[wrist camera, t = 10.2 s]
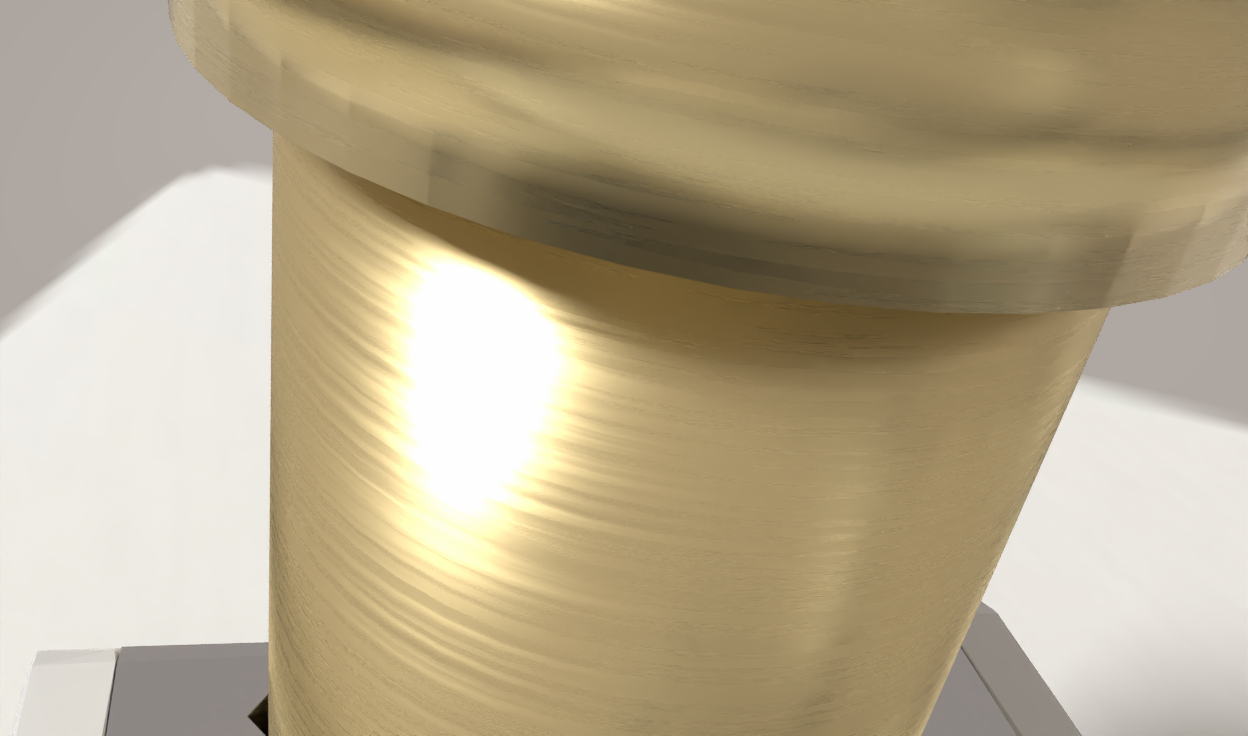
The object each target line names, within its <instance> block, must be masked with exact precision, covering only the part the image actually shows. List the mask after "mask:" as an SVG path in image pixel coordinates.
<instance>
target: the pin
mask: <svg viewBox="0 0 1248 736" xmlns="http://www.w3.org/2000/svg"><path fill="white" fill-rule="evenodd" d="M168 9H169V16H170V20H171V23H172V28H173V31H174V36H175V39H176V41H177V42H178V44H179V45H180V47H181V48H182V50H183V51H184V53H185V54H186V56H187V57H188V59H189V60H190V62H191V63H192V65H193V66H194V68H195V69H196V70H197V71H198V72H199V73H200V74H202V76H203V77H204V78H206V79H207V80H208V81H209V82H210V83H211V84H212V85H213V86H214V87H215V88H216V89H217V90H218V91H219V92H220V93H222V94H223V95H224V96H225V97H226V98H227V99H228V100H229V101H230V102H232V103H233V104H234V105H236V106H238V107H239V108H240V109H242V110H243V111H245V112H246V113H248V114H249V115H251V116H252V117H254V118H255V119H256V120H258V121H259V122H261V123H262V124H264V125H265V126H267V127H268V128H270V129H271V130H273V203H272V318H271V433H270V549H269V664H268V736H921V735H922V733H923V731H924V728H925V726H926V724H927V721H928V719H929V717H930V715H931V712H932V710H933V708H934V706H935V703H936V701H937V699H938V697H939V694H940V692H941V690H942V688H943V685H944V683H945V681H946V679H947V676H948V674H949V672H950V670H951V667H952V665H953V663H954V661H955V658H956V656H957V654H958V651H959V649H960V647H961V645H962V642H963V640H964V638H965V636H966V633H967V631H968V629H969V627H970V624H971V622H972V620H973V618H974V615H975V613H976V611H977V609H978V606H979V604H980V602H981V600H982V597H983V595H984V593H985V590H986V588H987V586H988V584H989V581H990V579H991V577H992V575H993V572H994V570H995V568H996V566H997V563H998V561H999V559H1000V557H1001V554H1002V552H1003V550H1004V548H1005V545H1006V543H1007V541H1008V539H1009V536H1010V534H1011V532H1012V529H1013V527H1014V525H1015V523H1016V520H1017V518H1018V516H1019V514H1020V511H1021V509H1022V507H1023V505H1024V502H1025V500H1026V498H1027V496H1028V493H1029V491H1030V489H1031V487H1032V484H1033V482H1034V480H1035V478H1036V475H1037V473H1038V471H1039V469H1040V466H1041V464H1042V462H1043V459H1044V457H1045V455H1046V453H1047V450H1048V448H1049V446H1050V444H1051V441H1052V439H1053V437H1054V435H1055V432H1056V430H1057V428H1058V426H1059V423H1060V421H1061V419H1062V417H1063V414H1064V412H1065V410H1066V408H1067V405H1068V403H1069V401H1070V398H1071V396H1072V394H1073V392H1074V389H1075V387H1076V385H1077V383H1078V380H1079V378H1080V376H1081V374H1082V371H1083V369H1084V367H1085V364H1086V362H1087V360H1088V358H1089V356H1090V353H1091V351H1092V349H1093V346H1094V344H1095V342H1096V340H1097V337H1098V335H1099V333H1100V331H1101V328H1102V326H1103V324H1104V322H1105V319H1106V317H1107V315H1108V312H1109V310H1110V308H1111V307H1114V306H1120V305H1125V304H1131V303H1136V302H1142V301H1148V300H1153V299H1159V298H1164V297H1167V296H1170V295H1173V294H1176V293H1179V292H1182V291H1185V290H1188V289H1191V288H1194V287H1197V286H1200V285H1203V284H1206V283H1209V282H1211V281H1213V280H1215V279H1216V278H1218V277H1220V276H1221V275H1223V274H1224V273H1226V272H1228V271H1229V270H1231V269H1233V268H1234V267H1236V266H1237V265H1239V264H1241V263H1243V262H1244V260H1245V259H1246V258H1247V257H1248V0H168Z"/></svg>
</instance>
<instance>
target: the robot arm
mask: <svg viewBox="0 0 1248 736" xmlns="http://www.w3.org/2000/svg"><path fill="white" fill-rule="evenodd" d="M268 664H269V642H265V643H232V644H200V645H167V646H134V647H122V649H121V648H116V649H83V650H50V651H38V652H37V654H36V656H35V657H34V659H33V661H32V663H31V665H30V666H29V668H28V670H27V672H26V677H25V681H24V685H23V689H22V693H21V698H20V702H19V706H18V710H17V715H16V719H15V723H14V727H13V732H12V736H268ZM921 736H1082V735H1081V734H1080V732H1079V731H1078V729H1077V728H1076V726H1075V725H1074V723H1073V722H1072V721H1071V719H1070V718H1069V716H1068V715H1067V713H1066V712H1065V710H1064V709H1063V708H1062V706H1061V705H1060V703H1059V702H1058V700H1057V699H1056V697H1055V696H1054V695H1053V693H1052V692H1051V690H1050V689H1049V687H1048V686H1047V684H1046V683H1045V682H1044V680H1043V679H1042V677H1041V676H1040V674H1039V673H1038V671H1037V670H1036V669H1035V667H1034V666H1033V664H1032V663H1031V661H1030V660H1029V658H1028V657H1027V656H1026V654H1025V653H1024V651H1023V650H1022V648H1021V647H1020V645H1019V644H1018V643H1017V641H1016V640H1015V638H1014V637H1013V635H1012V634H1011V633H1010V631H1009V630H1008V628H1007V627H1006V625H1005V624H1004V622H1003V621H1002V620H1001V618H1000V617H999V615H998V614H997V613H996V612H995V611H994V610H993V609H992V608H990V607H989V606H987V605H986V604H984V603H983V602H980V604H979V606H978V609H977V611H976V613H975V615H974V618H973V620H972V622H971V624H970V627H969V629H968V631H967V633H966V636H965V638H964V640H963V642H962V645H961V647H960V649H959V651H958V654H957V656H956V658H955V661H954V663H953V665H952V667H951V670H950V672H949V674H948V676H947V679H946V681H945V683H944V685H943V688H942V690H941V692H940V694H939V697H938V699H937V701H936V703H935V706H934V708H933V710H932V712H931V715H930V717H929V719H928V721H927V724H926V726H925V728H924V731H923V733H922V735H921Z"/></svg>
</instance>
